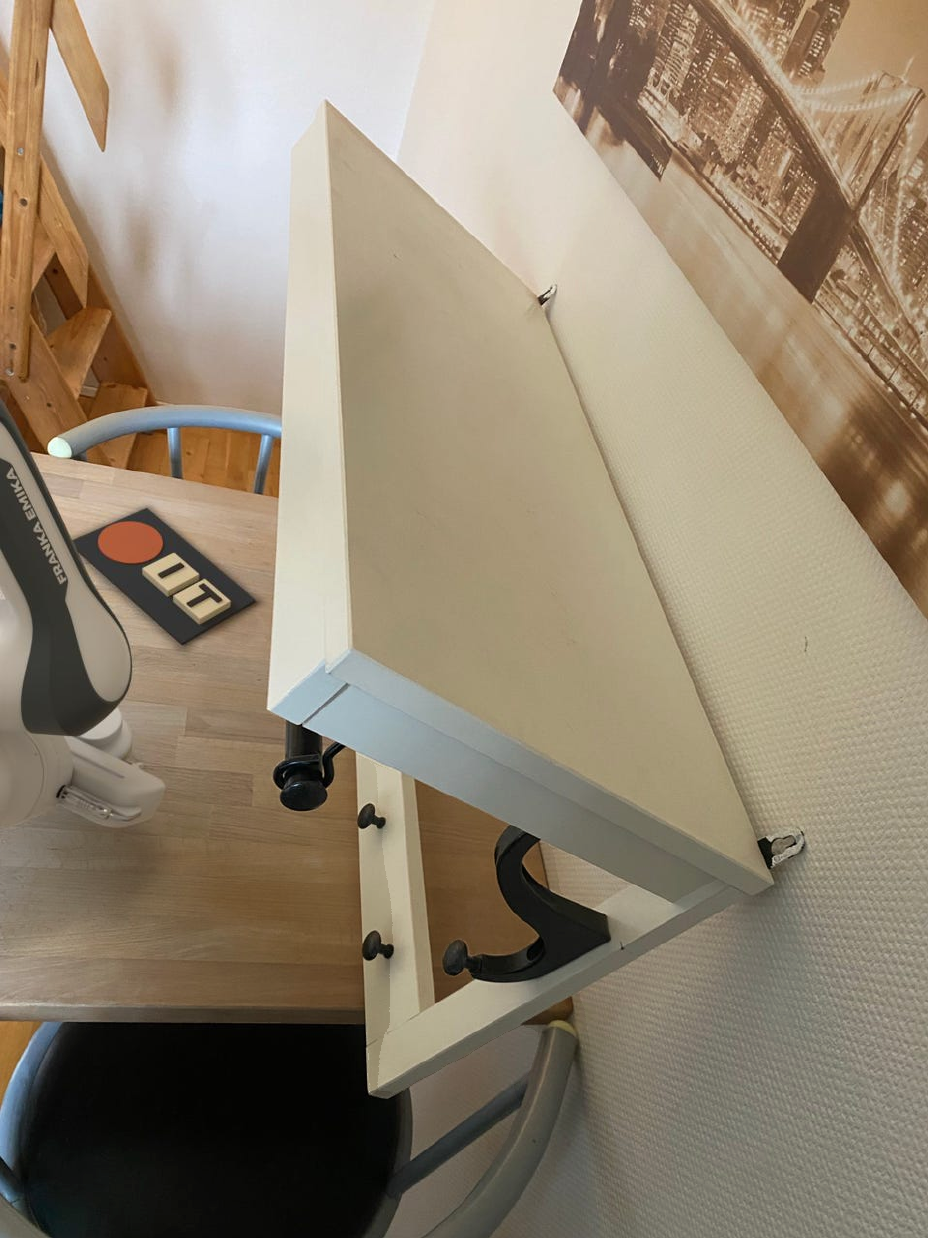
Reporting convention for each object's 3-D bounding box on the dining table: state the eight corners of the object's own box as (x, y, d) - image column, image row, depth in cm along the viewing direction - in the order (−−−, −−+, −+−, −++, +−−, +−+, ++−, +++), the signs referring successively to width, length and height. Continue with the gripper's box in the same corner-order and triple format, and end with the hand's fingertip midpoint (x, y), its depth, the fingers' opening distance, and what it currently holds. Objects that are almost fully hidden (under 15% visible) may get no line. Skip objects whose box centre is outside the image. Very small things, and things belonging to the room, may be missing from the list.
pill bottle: (60, 764, 87) (52, 699, 79) (125, 749, 90) (123, 685, 82) (72, 816, 84) (65, 754, 75) (139, 799, 87) (138, 737, 79)
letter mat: (69, 547, 107) (67, 533, 105) (146, 512, 115) (146, 499, 113) (181, 648, 101) (182, 635, 99) (255, 604, 109) (257, 592, 107)
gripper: (139, 789, 67) (200, 764, 81) (-80, 683, 68) (18, 676, 82) (106, 859, 67) (173, 822, 81) (-112, 752, 68) (-9, 733, 82)
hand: (93, 747), depth 81 cm, fingers open, 8 cm apart
